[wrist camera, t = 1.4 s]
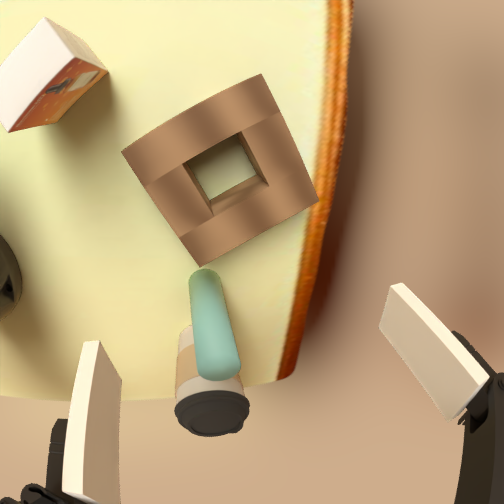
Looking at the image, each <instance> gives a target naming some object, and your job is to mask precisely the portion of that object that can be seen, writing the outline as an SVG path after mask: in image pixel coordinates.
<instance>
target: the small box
mask: <svg viewBox="0 0 504 504" xmlns="http://www.w3.org/2000/svg"><path fill="white" fill-rule="evenodd" d="M107 73H108V70H107V69H106V67H105V66H104V65H103V64H102V62H101V61H100V60H99V59H98V57H97V56H96V55H95V54H94V52H93V51H92V50H91V49H90V47H89V46H88V45H87V44H86V43H85V41H84V40H83V39H81V38H79V37H78V36H76V35H75V34H73V33H71V32H70V31H68V30H67V29H65V28H63V27H62V26H60V25H58V24H56V23H55V22H53V21H51V20H50V19H48V18H46V17H43V18H42V19H41V20H40V21H39V22H38V23H37V24H36V26H35V27H34V28H33V29H32V30H31V31H30V32H29V33H28V34H27V35H26V36H25V37H24V39H23V40H22V41H21V42H20V43H19V44H18V45H17V46H16V48H15V49H14V50H13V51H12V52H11V53H10V54H9V56H8V57H7V58H6V59H5V60H4V62H3V63H2V64H1V65H0V122H1V124H2V125H3V127H4V128H5V129H6V131H7V132H8V133H10V132H14V131H18V130H23V129H27V128H32V127H36V126H42V125H47V124H52V123H56V122H58V120H59V119H60V118H61V117H62V116H63V115H64V113H65V112H66V111H67V110H68V109H69V108H70V107H71V106H72V105H73V104H74V103H75V102H76V101H77V100H78V99H79V98H80V97H81V96H82V95H83V94H84V93H85V92H87V91H88V90H89V89H90V88H91V87H92V86H93V85H94V84H95V83H96V82H98V81H99V80H100V79H101V78H102V77H103V76H104V75H106V74H107Z"/></svg>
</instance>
